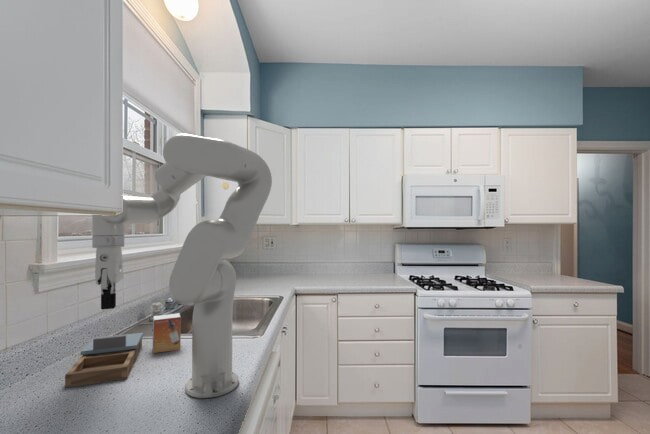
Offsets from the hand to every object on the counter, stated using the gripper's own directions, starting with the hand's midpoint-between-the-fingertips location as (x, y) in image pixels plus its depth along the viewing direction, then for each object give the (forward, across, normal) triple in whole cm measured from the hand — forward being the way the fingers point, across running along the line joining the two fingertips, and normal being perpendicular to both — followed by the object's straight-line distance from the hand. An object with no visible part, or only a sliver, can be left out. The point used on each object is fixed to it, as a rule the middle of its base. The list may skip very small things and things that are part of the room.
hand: (108, 308), depth 93 cm
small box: (+17, +11, -14) cm, 25 cm away
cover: (+14, +11, +1) cm, 17 cm away
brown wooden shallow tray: (+17, +4, +1) cm, 18 cm away
